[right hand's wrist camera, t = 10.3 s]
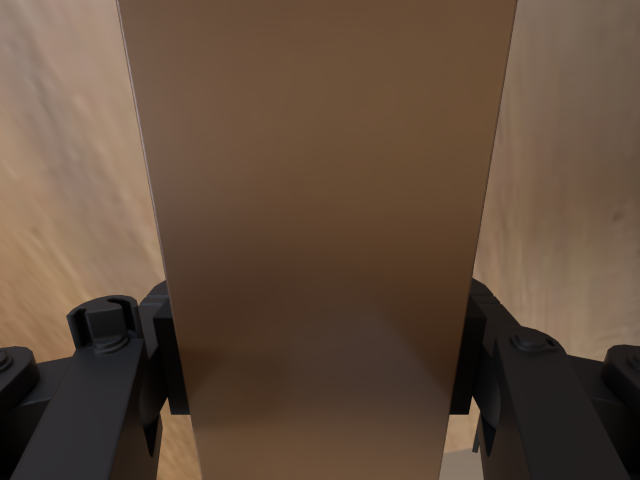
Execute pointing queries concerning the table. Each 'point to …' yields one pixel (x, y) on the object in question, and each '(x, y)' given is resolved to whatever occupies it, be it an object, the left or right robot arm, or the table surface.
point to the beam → (318, 219)
